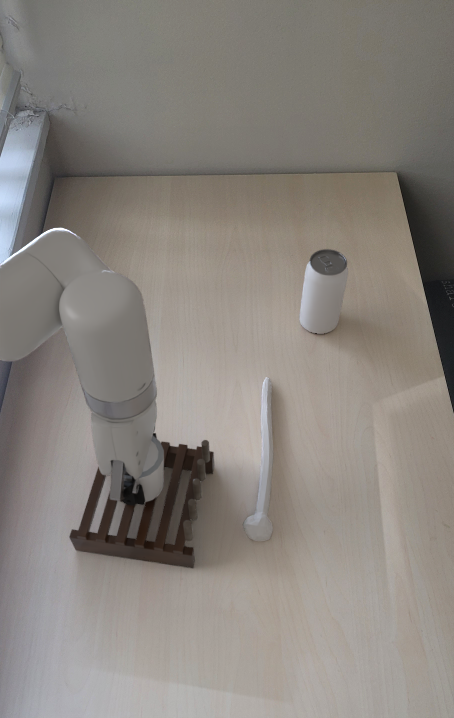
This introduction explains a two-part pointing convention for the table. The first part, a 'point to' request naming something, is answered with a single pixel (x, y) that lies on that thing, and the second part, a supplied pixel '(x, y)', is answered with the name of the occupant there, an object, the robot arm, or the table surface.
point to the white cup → (152, 471)
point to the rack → (150, 514)
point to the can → (323, 291)
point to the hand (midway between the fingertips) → (139, 475)
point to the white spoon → (263, 473)
